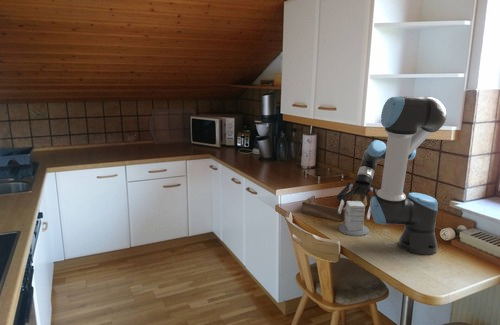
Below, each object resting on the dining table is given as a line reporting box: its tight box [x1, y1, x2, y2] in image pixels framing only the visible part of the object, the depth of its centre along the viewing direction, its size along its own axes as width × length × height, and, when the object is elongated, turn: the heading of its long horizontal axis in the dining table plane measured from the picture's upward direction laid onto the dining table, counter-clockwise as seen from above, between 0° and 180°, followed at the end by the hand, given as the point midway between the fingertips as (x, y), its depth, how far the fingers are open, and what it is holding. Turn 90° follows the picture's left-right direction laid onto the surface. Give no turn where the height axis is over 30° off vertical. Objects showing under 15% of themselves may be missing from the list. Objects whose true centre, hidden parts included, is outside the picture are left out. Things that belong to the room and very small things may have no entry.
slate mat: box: [338, 222, 370, 237], centre depth 179 cm, size 14×14×1 cm
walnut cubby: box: [301, 195, 346, 223], centre depth 201 cm, size 14×23×6 cm, turn 58°
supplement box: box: [344, 200, 366, 231], centre depth 178 cm, size 7×7×13 cm
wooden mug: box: [351, 194, 368, 207], centre depth 212 cm, size 9×14×18 cm, turn 12°
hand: (353, 215), depth 176 cm, fingers open, 13 cm apart
